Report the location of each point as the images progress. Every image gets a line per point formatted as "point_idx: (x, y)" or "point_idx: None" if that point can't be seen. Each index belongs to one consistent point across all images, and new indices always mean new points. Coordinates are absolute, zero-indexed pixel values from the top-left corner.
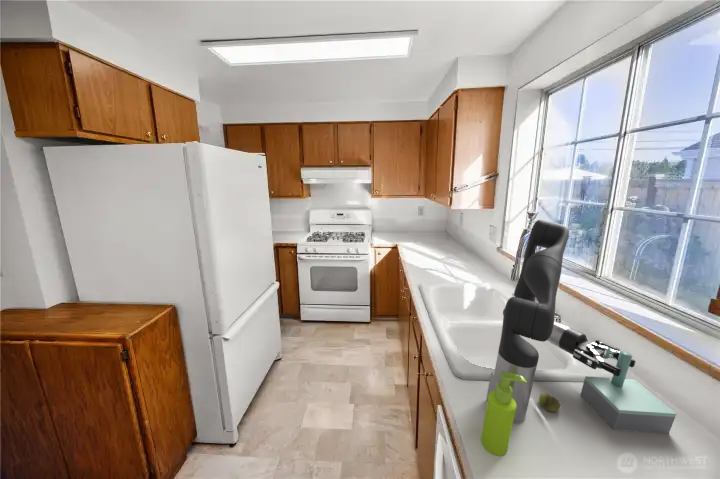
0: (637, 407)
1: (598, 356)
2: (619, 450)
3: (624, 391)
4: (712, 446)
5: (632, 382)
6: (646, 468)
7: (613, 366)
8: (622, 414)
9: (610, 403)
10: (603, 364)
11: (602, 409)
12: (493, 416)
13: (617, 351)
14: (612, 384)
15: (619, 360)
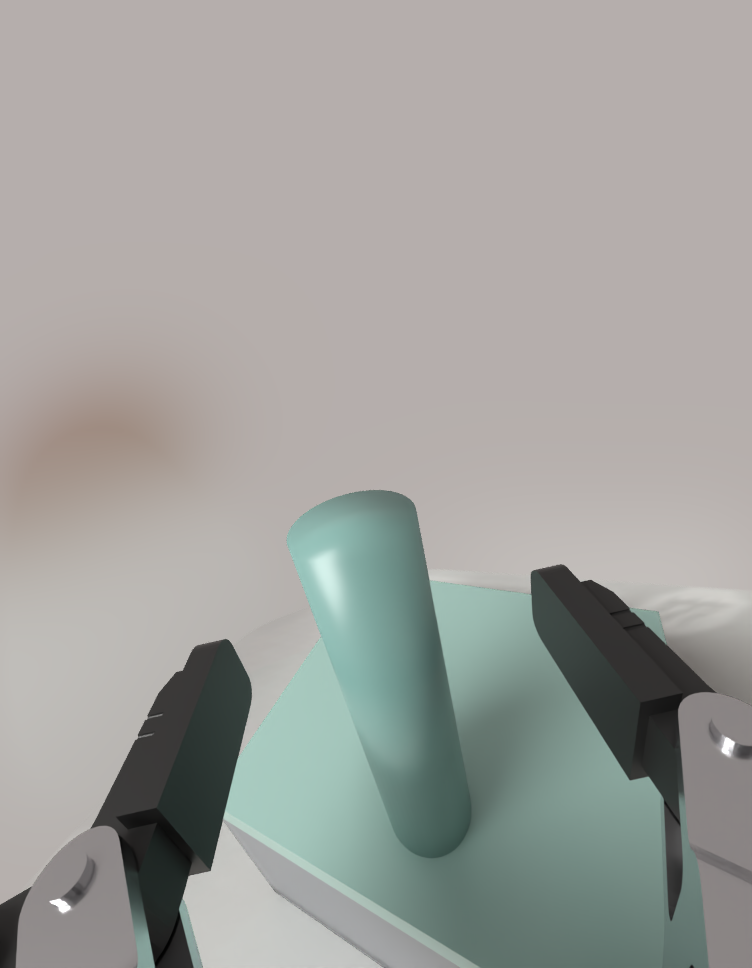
0: (513, 611)
1: (736, 860)
2: (681, 644)
3: (455, 717)
4: (305, 609)
5: (272, 774)
6: (618, 590)
7: (597, 601)
8: None
9: None
10: (711, 691)
11: None
12: None
13: (84, 859)
14: (478, 811)
15: (432, 616)
